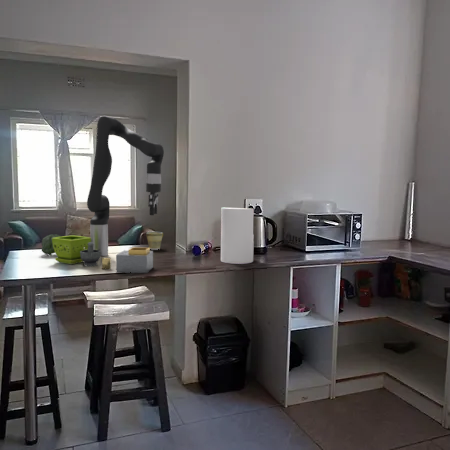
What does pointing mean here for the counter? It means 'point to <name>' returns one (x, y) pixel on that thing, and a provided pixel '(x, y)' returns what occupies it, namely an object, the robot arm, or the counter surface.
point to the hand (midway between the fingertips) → (153, 214)
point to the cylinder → (237, 235)
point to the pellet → (106, 263)
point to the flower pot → (70, 248)
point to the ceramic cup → (154, 240)
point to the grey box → (134, 260)
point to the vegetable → (48, 244)
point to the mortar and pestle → (90, 255)
